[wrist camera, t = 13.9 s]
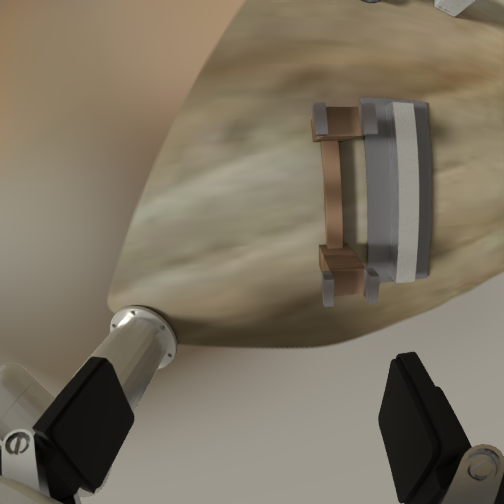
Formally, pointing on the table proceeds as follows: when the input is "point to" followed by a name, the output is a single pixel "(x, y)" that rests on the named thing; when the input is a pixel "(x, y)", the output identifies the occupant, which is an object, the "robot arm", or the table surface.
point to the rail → (403, 190)
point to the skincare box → (452, 6)
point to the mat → (381, 190)
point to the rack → (335, 252)
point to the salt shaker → (371, 1)
